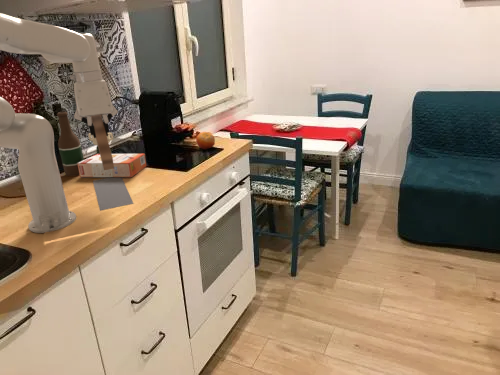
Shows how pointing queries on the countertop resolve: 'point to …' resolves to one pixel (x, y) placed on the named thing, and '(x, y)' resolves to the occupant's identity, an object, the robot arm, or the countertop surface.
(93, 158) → the cracker box
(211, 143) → the fruit
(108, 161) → the bar
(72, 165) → the beer bottle
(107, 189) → the mat
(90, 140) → the cream and green trophy
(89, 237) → the countertop surface
